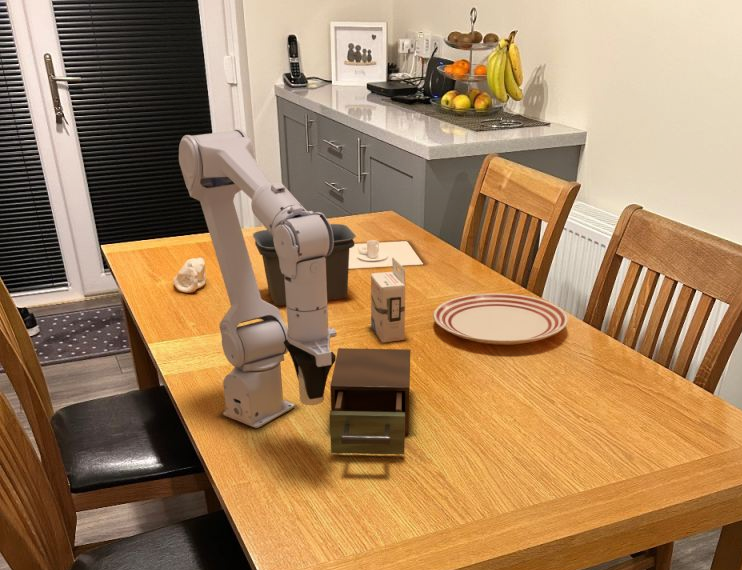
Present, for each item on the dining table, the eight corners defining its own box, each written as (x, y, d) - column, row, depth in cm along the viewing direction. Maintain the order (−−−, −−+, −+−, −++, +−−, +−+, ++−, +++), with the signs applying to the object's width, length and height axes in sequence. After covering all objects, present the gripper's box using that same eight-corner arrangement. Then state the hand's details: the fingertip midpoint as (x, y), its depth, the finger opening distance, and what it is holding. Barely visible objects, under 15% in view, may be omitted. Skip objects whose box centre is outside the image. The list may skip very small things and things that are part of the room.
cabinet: (408, 433, 128) (409, 387, 124) (332, 432, 129) (330, 385, 124) (409, 393, 141) (410, 349, 136) (339, 391, 141) (338, 348, 137)
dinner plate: (405, 325, 167) (406, 310, 165) (495, 295, 182) (497, 281, 180) (502, 368, 149) (504, 352, 147) (593, 332, 164) (596, 316, 162)
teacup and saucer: (354, 252, 208) (354, 237, 206) (384, 251, 210) (384, 235, 207) (359, 263, 201) (359, 247, 199) (390, 261, 202) (390, 245, 200)
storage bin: (265, 312, 173) (260, 247, 165) (254, 289, 185) (248, 227, 178) (360, 302, 178) (359, 238, 170) (343, 280, 191) (341, 219, 183)
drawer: (403, 471, 117) (404, 431, 114) (328, 469, 118) (326, 430, 114) (405, 412, 133) (406, 376, 129) (338, 411, 133) (337, 375, 130)
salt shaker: (320, 406, 117) (318, 372, 114) (296, 404, 118) (294, 370, 115) (326, 395, 120) (325, 362, 117) (303, 393, 121) (301, 360, 118)
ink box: (369, 327, 166) (369, 258, 158) (392, 325, 167) (393, 255, 159) (381, 343, 159) (382, 271, 151) (405, 340, 160) (406, 269, 152)
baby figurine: (193, 275, 194) (210, 248, 190) (207, 308, 188) (225, 281, 183) (161, 266, 188) (177, 238, 183) (175, 300, 182) (192, 271, 177)
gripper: (351, 318, 107) (353, 408, 114) (318, 284, 118) (322, 367, 125) (300, 325, 104) (306, 416, 112) (271, 290, 116) (278, 374, 123)
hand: (311, 391), depth 118 cm, fingers closed on salt shaker, 3 cm apart
